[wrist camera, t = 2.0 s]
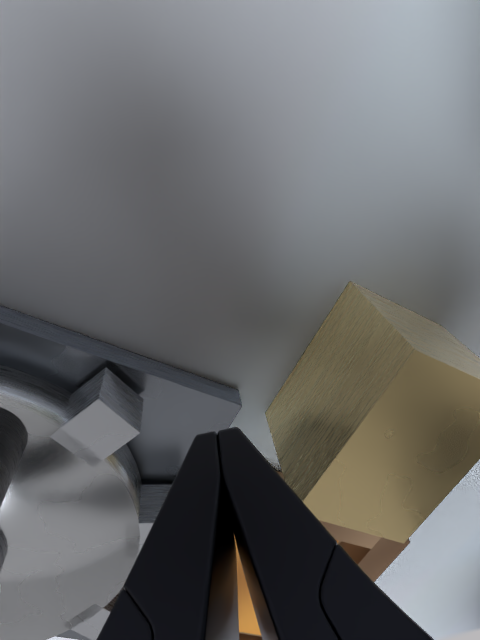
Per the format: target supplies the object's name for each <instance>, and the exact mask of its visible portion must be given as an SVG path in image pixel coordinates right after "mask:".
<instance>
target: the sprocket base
mask: <svg viewBox="0 0 480 640" xmlns="http://www.w3.org/2000/svg"><path fill="white" fill-rule="evenodd" d="M0 365H3V366H7V367H11V368H15V369H18V370H21V371H24V372H26V373H29V374H32V375H34V376H37V377H40V378H42V379H45V380H47V381H49V382H51V383H53V384H55V385H57V386H59V387H61V388H63V389H65V390H67V391H68V392H70V393H71V394H72V393H73V392H75V391H76V390H77V389H79V388H80V387H81V386H82V385H84V384H85V383H86V382H88V381H89V380H90V379H91V378H93V377H94V376H95V375H97V374H98V373H99V372H100V371H102V370H103V369H104V368H105V367H107V368H108V369H109V370H110V371H112V372H113V373H114V374H115V375H116V376H117V377H119V378H120V379H121V380H122V381H123V382H124V383H126V384H127V385H128V386H129V387H130V388H131V389H133V390H134V391H135V392H136V393H137V394H138V395H139V396H141V397H142V398H143V399H144V400H143V410H142V420H141V430H140V434H138V435H137V436H136V437H134V438H133V439H131V440H130V441H129V442H127V443H126V445H127V447H128V448H129V450H130V452H131V454H132V456H133V458H134V460H135V462H136V464H137V467H138V471H139V474H140V478H141V482H142V485H161V484H173V481H174V479H175V477H176V475H177V473H178V471H179V469H180V467H181V465H182V463H183V461H184V459H185V456H186V454H187V452H188V450H189V448H190V446H191V444H192V442H193V440H194V438H195V436H196V435H198V434H202V433H207V432H212V431H215V432H216V433H217V435H218V431H219V430H223V429H228V428H229V426H230V425H231V423H232V422H233V420H234V418H235V417H236V415H237V413H238V412H239V410H240V408H241V407H242V404H241V400H240V395H239V391H238V390H237V389H234V388H231V387H228V386H225V385H223V384H220V383H217V382H214V381H211V380H209V379H206V378H203V377H200V376H197V375H194V374H192V373H189V372H186V371H183V370H180V369H178V368H175V367H172V366H169V365H166V364H164V363H161V362H158V361H155V360H152V359H149V358H147V357H144V356H141V355H138V354H135V353H133V352H130V351H127V350H124V349H121V348H119V347H116V346H113V345H110V344H107V343H104V342H102V341H99V340H96V339H93V338H90V337H88V336H85V335H82V334H79V333H76V332H74V331H71V330H68V329H65V328H62V327H59V326H57V325H54V324H51V323H48V322H45V321H43V320H40V319H37V318H34V317H31V316H29V315H26V314H23V313H20V312H17V311H14V310H12V309H9V308H6V307H3V306H0ZM57 637H64V638H71V639H78V640H91V639H89V638H87V637H85V636H83V635H81V634H79V633H77V632H75V631H73V630H71V629H70V630H68V631H66V632H64V633H62V634H59V635H57Z"/></svg>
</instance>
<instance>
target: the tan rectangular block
mask: <svg viewBox="0 0 480 640" xmlns="http://www.w3.org/2000/svg"><path fill="white" fill-rule="evenodd" d="M265 414H266V418H267V421H268V425H269V428H270V432H271V435H272V438H273V442H274V445H275V449H276V452H277V456H278V459H279V463H280V466H281V470H282V473H283V477H284V480H285V482H286V483H287V484H288V485H289V487H290V488H291V489H292V490H293V491H294V492H295V493H296V495H297V496H298V497H299V498H300V499H301V500H302V502H303V503H304V504H305V505H306V506H307V507H308V509H309V510H310V511H311V512H312V513H313V514H314V515H315V517H316V518H317V519H318V520H320V521H324V522H327V523H331V524H335V525H338V526H342V527H346V528H349V529H353V530H356V531H360V532H364V533H367V534H371V535H375V536H378V537H382V538H386V539H389V540H393V541H396V542H400V543H405V542H406V540H407V539H408V538H409V537H410V536H411V535H412V534H413V533H414V532H415V530H416V529H417V528H418V527H419V526H420V525H421V524H422V523H423V522H424V520H425V519H426V518H427V517H428V516H429V515H430V514H431V513H432V512H433V510H434V509H435V508H436V507H437V506H438V505H439V504H440V503H441V502H442V500H443V499H444V498H445V497H446V496H447V495H448V494H449V493H450V492H451V490H452V489H453V488H454V487H455V486H456V485H457V484H458V483H459V482H460V480H461V479H462V478H463V477H464V476H465V475H466V474H467V473H468V471H469V470H470V469H471V468H472V467H473V466H474V465H475V464H476V463H477V461H478V460H479V459H480V358H478V357H477V356H476V355H475V354H474V353H473V352H472V351H470V350H469V349H468V348H467V347H466V346H465V345H463V344H462V343H461V342H460V341H459V340H458V339H456V338H455V337H454V336H453V335H452V334H451V333H449V332H448V331H447V330H446V329H445V328H444V327H442V326H441V325H439V324H437V323H435V322H433V321H431V320H429V319H427V318H425V317H423V316H421V315H419V314H417V313H415V312H413V311H410V310H408V309H406V308H404V307H402V306H400V305H398V304H396V303H394V302H392V301H390V300H388V299H386V298H384V297H382V296H380V295H378V294H376V293H374V292H372V291H369V290H367V289H365V288H363V287H361V286H359V285H357V284H355V283H353V282H351V281H350V282H349V283H348V285H347V286H346V288H345V290H344V291H343V293H342V294H341V296H340V297H339V299H338V300H337V302H336V304H335V305H334V307H333V308H332V310H331V311H330V313H329V315H328V316H327V318H326V319H325V321H324V322H323V324H322V325H321V327H320V329H319V330H318V332H317V333H316V335H315V336H314V338H313V339H312V341H311V343H310V344H309V346H308V347H307V349H306V350H305V352H304V353H303V355H302V357H301V358H300V360H299V361H298V363H297V364H296V366H295V368H294V369H293V371H292V372H291V374H290V375H289V377H288V378H287V380H286V382H285V383H284V385H283V386H282V388H281V389H280V391H279V392H278V394H277V396H276V397H275V399H274V400H273V402H272V403H271V405H270V406H269V408H268V410H267V411H266V413H265Z"/></svg>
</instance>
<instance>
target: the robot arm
mask: <svg viewBox="0 0 480 640" xmlns="http://www.w3.org/2000/svg"><path fill="white" fill-rule="evenodd" d="M234 535H235V536H234ZM235 540H236V544H235ZM236 545H237V549H238V553H239V557H240V561H241V565H242V568H243V572H244V575H245V579H246V582H247V586H248V590H249V593H250V597H251V600H252V604H253V607H254V611H255V615H256V618H257V622H258V625H259V629H260V632H261V636H262V640H434V639H433V638H432V637H431V636H430V635H429V634H427V633H426V632H425V631H424V630H423V629H422V628H421V627H420V626H419V625H418V624H417V623H415V622H414V621H413V620H412V619H411V618H410V617H409V616H408V615H407V614H406V613H405V612H404V611H403V610H402V609H400V608H399V607H398V606H397V605H396V604H395V603H394V602H393V601H392V600H391V599H390V598H389V597H388V596H387V595H386V594H385V593H384V592H383V591H382V590H381V589H380V588H379V587H378V586H377V585H376V584H375V583H374V582H373V581H372V580H371V579H370V578H369V577H368V575H367V574H366V573H365V572H364V571H363V570H362V569H361V568H360V567H359V566H358V565H357V564H356V562H355V561H354V560H353V559H352V558H351V557H350V556H349V554H348V553H347V552H346V551H345V550H344V549H343V547H342V546H341V545H339V544H338V545H337V541H336V540H335V539H334V537H333V536H332V535H331V534H330V533H329V532H328V530H327V529H326V528H325V527H324V526H323V525H322V524H321V522H320V521H319V520H318V519H317V518H316V517H315V515H314V514H313V513H312V512H311V511H310V510H309V509H308V507H307V506H306V505H305V504H304V503H303V502H302V500H301V499H300V498H299V497H298V496H297V495H296V493H295V492H294V491H293V490H292V489H291V488H290V487H289V485H288V484H287V483H286V482H285V481H284V480H283V478H282V477H281V476H280V475H279V474H278V473H277V472H276V470H275V469H274V468H273V467H272V466H271V465H270V463H269V462H268V461H267V460H266V459H265V458H264V456H263V455H262V454H261V453H260V452H259V451H258V450H257V448H256V447H255V446H254V445H253V444H252V443H251V441H250V440H249V439H248V438H247V437H246V436H245V435H244V433H243V432H242V431H241V430H240V429H239V428H237V427H233V428H228V429H223V430H219V431H218V435H217V433H216V432H215V431H212V432H207V433H202V434H198V435H196V436H195V438H194V440H193V442H192V444H191V446H190V448H189V450H188V452H187V454H186V456H185V459H184V461H183V463H182V465H181V467H180V469H179V471H178V473H177V475H176V477H175V479H174V481H173V484H172V486H171V488H170V490H169V492H168V494H167V496H166V498H165V500H164V502H163V504H162V506H161V508H160V511H159V513H158V515H157V517H156V519H155V521H154V523H153V525H152V527H151V529H150V531H149V533H148V536H147V538H146V540H145V542H144V544H143V546H142V548H141V550H140V552H139V554H138V556H137V558H136V561H135V563H134V565H133V567H132V569H131V571H130V573H129V575H128V577H127V579H126V581H125V583H124V586H123V587H124V589H123V590H121V591H120V593H119V595H118V598H117V600H116V602H115V604H114V606H113V608H112V610H111V612H110V614H109V616H108V618H107V620H106V622H105V624H104V626H103V628H102V630H101V632H100V634H99V636H98V638H97V640H239V616H238V585H237V557H236Z"/></svg>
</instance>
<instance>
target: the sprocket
mask: <svg viewBox="0 0 480 640" xmlns="http://www.w3.org/2000/svg"><path fill="white" fill-rule="evenodd" d="M143 400H144V399H143V398H142V397H141V396H139V395H138V394H137V393H136V392H135V391H134V390H133V389H131V388H130V387H129V386H128V385H127V384H126V383H124V382H123V381H122V380H121V379H120V378H119V377H117V376H116V375H115V374H114V373H113V372H112V371H110V370H109V369H108V368H107V367H105V368H104V369H103V370H102V371H100V372H99V373H98V374H97V375H95V376H94V377H93V378H91V379H90V380H89V381H88V382H86V383H85V384H84V385H82V386H81V387H80V388H79V389H77V390H76V391H75V392H73V393H72V394H71V393H70V392H68V391H67V390H65V389H63V388H61V387H59V386H57V385H55V384H53V383H51V382H49V381H47V380H45V379H42V378H40V377H37V376H34V375H32V374H29V373H26V372H24V371H21V370H18V369H15V368H11V367H7V366H3V365H0V640H46V639H49V638H52V637H54V636H57V635H59V634H62V633H64V632H66V631H68V630H70V629H71V630H73V631H75V632H77V633H79V634H81V635H83V636H85V637H87V638H89V639H91V640H97V638H98V636H99V634H100V632H101V630H102V628H103V626H104V624H105V622H106V620H107V618H108V616H109V614H110V612H111V610H112V608H113V606H114V604H115V602H116V600H117V598H118V595H119V593H120V591H121V590H123V589H124V587H123V586H124V583H125V581H126V579H127V577H128V575H129V573H130V571H131V569H132V567H133V565H134V563H135V561H136V558H137V556H138V554H139V552H140V550H141V548H142V546H143V544H144V542H145V540H146V538H147V536H148V533H149V531H150V529H151V527H152V525H153V523H154V521H155V519H156V517H157V515H158V513H159V511H160V508H161V506H162V504H163V502H164V500H165V498H166V496H167V494H168V492H169V490H170V488H171V486H172V484H161V485H142V482H141V478H140V474H139V471H138V467H137V464H136V462H135V460H134V458H133V456H132V454H131V452H130V450H129V448H128V447H127V445H126V443H127V442H129V441H130V440H131V439H133V438H134V437H136V436H137V435H138V434H140V430H141V420H142V410H143Z"/></svg>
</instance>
